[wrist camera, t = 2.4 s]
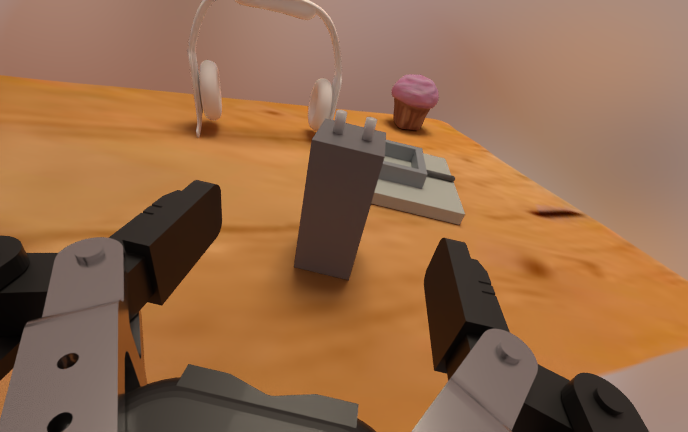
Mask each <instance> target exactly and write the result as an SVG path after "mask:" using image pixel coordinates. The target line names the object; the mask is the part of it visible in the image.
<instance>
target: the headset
mask: <svg viewBox="0 0 688 432" xmlns="http://www.w3.org/2000/svg"><path fill="white" fill-rule="evenodd" d="M214 1H216V0H203V1H202V2H201V4H200V6H199V8H198V10H197V13H196V15H195V18H194V21H193V25H192V29H191V33H190V38H189V43H188V50H187V53H188V59H189V64H190V72H191V79H192V86H193V92H194V99H195V106H196V113H197V129H196V134H197V138H199V137H200V132H201V125H202V113H203V109H204V113H205V116H206V117H207V118H208V119H210V120H218V119H219V118H220V117H221V113H222V103H221V88H220V80H219V71H218V68H217V65H216V64H215V63H214V62H212V61H210V60H205V61H203V62H202V63H201V65H200V76H199V73H198V65H197V58H196V44H197V39H198V35H199V31H200V27H201V24H202V21H203V19H204V16H205V14H206V12H207V10H208V9H209V7H210V6H211V5H212V3H213V2H214ZM235 1H236V2H237V3H239V4H241V5H245V6H250V7H255V8H262V9H266V10H271V11H275V12H279V13H283V14H286V15H289V16H293V17H296V18H299V19H305V20H310V19H312V18H314V17H315V15H316V14H317V15H318V16H319V17H320V18H321V19H322V20H323V22H324V23H325V25H326V26H327V29H328V31H329V33H330V36H331V40H332V44H333V50H334V59H335V76H334V79H333V83H332V86H331V83H330V82H329V81H328V80H327V79H324V78H323V79H319V80H317V81H316V83H315V84H314V87H313V89H312V92H311V96H310V101H309V108H308V122H309V125H310V127H311V128H312V129H313V130H316V131H318V129H319V128H320V126H321V124H322V123H323V121H324V120H325V118H326V119H330V120H333V117H334V113H335V109H336V105H337V101H338V97H339V93H340V89H341V84H342V64H341V51H340V44H339V39H338V35H337V31H336V28H335V26H334V24H333V22H332V20H331V18H330V17H329V15H328V14H327V13H326V12H325V11H324V10H323V9H322V8H321V7H319V6H318V5H316V4H315V3H313V2H311V1H309V0H235ZM199 80H200V81H199Z"/></svg>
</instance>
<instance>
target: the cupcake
mask: <svg viewBox="0 0 688 432" xmlns="http://www.w3.org/2000/svg"><path fill="white" fill-rule="evenodd" d="M392 96H393V97H394V123H395V124H396V125H397V126H398V127H399V128H401V129H410V130H419V129H420V128H421V126H422V124H423V122H424V119H425V117H426V115H427V113H428V112H429V110H430V108H433V107H434V106H435V105H436V104H437V102H438V98H439V97H438V90H437V88H436V86H435V84H434V82H433V81H432V80H430V79H429V78H426V77H424V76H422V75H412V74H410V75H404V77H402V78H401V79H399V80H398V81H397V83H395V85H394V86H393V88H392Z"/></svg>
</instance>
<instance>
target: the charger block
mask: <svg viewBox="0 0 688 432" xmlns="http://www.w3.org/2000/svg"><path fill="white" fill-rule="evenodd" d="M346 116H347V112H346V111H343V110H337V111H336V117H335V120H330V119H326V118H325V120H324V121H323V123H322V124H321V126H320V128H319V129H318V131H317V132H316V134H315V135H314V137H313V139H312V142H311V149H310V156H309V163H308V170H307V177H306V184H305V191H304V198H303V205H302V213H301V220H300V227H299V234H298V241H297V248H296V255H295V262H294V267H296V268H300V269H304V270H308V271H312V272H317V273H321V274H325V275H329V276H333V277H337V278H342V279H346V280H349V277H350V274H351V271H352V267H353V264H354V260H355V257H356V253H357V250H358V247H359V243H360V240H361V236H362V233H363V230H364V226H365V223H366V219H367V216H368V212H369V209H370V206H371V202H372V199H373V195H374V192H375V188H376V185H377V182H378V178H379V175H380V171H381V168H382V164H383V161H384V158H385V143H386V133H385V132H381V131H376V130H375V126H376V122H377V119H375V118H372V117H367V118H366V122H365V126H364V127H360V126H356V125H351V124H347V123H345V121H346Z"/></svg>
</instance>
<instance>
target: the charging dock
mask: <svg viewBox="0 0 688 432" xmlns="http://www.w3.org/2000/svg"><path fill="white" fill-rule="evenodd" d="M454 180H455V177H454V176H451V174H450V171H449V168H448V165H447V162H446V160H445V159H444V158H440V157H436V156H432V155H428V154H424V153H423V151H422V148H418V147H414V146H410V145H406V144H402V143H398V142H393V141H389V140H386V143H385V158H384V161H383V164H382V168H381V171H380V175H379V178H378V182H377V185H376V188H375V192H374V195H373V199H372V202H371V204H375V205H379V206H383V207H388V208H392V209H396V210H400V211H404V212H408V213H413V214H417V215H421V216H425V217H429V218H433V219H437V220H442V221H446V222H450V223H454V224H458V225H460V223H461V221H462V219H463V217H464V215H465V213H464V210H463V207H462V204H461V202H460V199H459V196H458V193H457V190H456V188H455V185H454V182H453V181H454Z"/></svg>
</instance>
